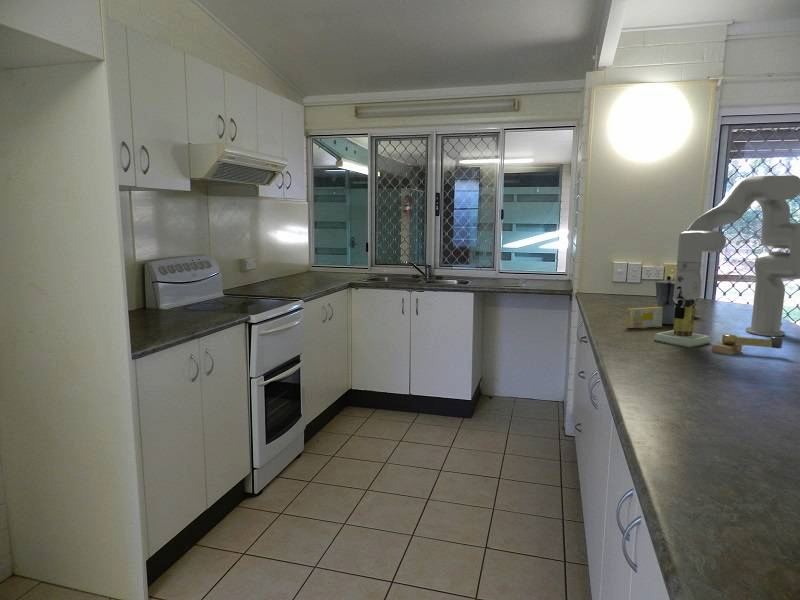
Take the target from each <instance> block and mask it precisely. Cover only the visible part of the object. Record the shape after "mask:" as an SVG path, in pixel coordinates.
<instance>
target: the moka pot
mask: <svg viewBox="0 0 800 600" xmlns="http://www.w3.org/2000/svg"><path fill="white" fill-rule="evenodd" d="M666 278H667V279H665V280H659V281H658V280H657V281H655V291H656V292H655V297H656V301H657V302H656V303H657V304H656V307H663V312H662V325H674V312H675V303H674V300H673V296H674V286H675V280H671V278H672V276H670V275H668V276H667V277H666Z"/></svg>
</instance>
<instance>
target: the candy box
mask: <svg viewBox="0 0 800 600" xmlns="http://www.w3.org/2000/svg"><path fill="white" fill-rule="evenodd" d="M626 312H627V313H626V317H627V318H626V329H627V328H641V329H648V328H647V327H656V328H662V327H663V324H662V312H663V307H657V306H653V307H638V308H637V307H635V308H627V310H626Z"/></svg>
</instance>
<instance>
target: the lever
mask: <svg viewBox="0 0 800 600" xmlns="http://www.w3.org/2000/svg"><path fill="white" fill-rule="evenodd" d="M783 340H784V339H783V337H782V336H770V339H767V338H756V337H744V336H743V337H742V336H737V335H736V334H730V333H729V334H728V333H724V334H722V339H721V342H722V343H725V344H739V345H742V346H753V347H763V348H773V349H782V347H783Z"/></svg>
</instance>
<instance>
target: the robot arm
mask: <svg viewBox="0 0 800 600" xmlns="http://www.w3.org/2000/svg"><path fill="white" fill-rule="evenodd" d="M799 196H800V177H799V176H797V175H795V174H793V175H791V174H790V175H788V174H787V175H760V176H748V177H743V178H740V179H739V180H738V181H737V182H735V184H734V185H733V186H732V187H731V189H729V192H728V193H727V194H726V195H725V197H724V198H723V199H722V201H721V202H720V203H719V204H718V205H717V206H715V207H713V208H711V209H709V210H708V211H706V212H705V213H703V214H702V215H699V217H697V218H696V219H694V221H692V223H691V224H690V225H689V226H688V228H686V230H685V231H683V232H680V233H679V237H678V245H677V257H676V258H677V259H676V270H675V271H676V274H675V278H674V279H675V280H674V282H675V286H674V296H673V300H674V303H675V314H674V318H678V319H684V313H685V308H684V305H685V301H686V300H693V299H694V301H695V306H696V305H697V301H698V299H699V298H700V297H701V290H702V277H701V276H702V275H701V268H702V259H703V258H702V256H703V253H710V254H711V253H712V254H713V253H718V252H720V251H722V250H723V249H724V248H725V246H726V245H727V238H726V236H725V235H724V234H723V233H722V232H719V231H715V230H714V229H717V228H720V227H722V226H725V225H730V224H733V223H735V222H737V221H740V220H741V218H742V217H743V215H744V214H745V213H746V212H747V211H748V209H749V208H750V207H751V205H752V204H753V203H755V202H757V203H758V205H759V206H760V208H761V211H762V212H761V213H762V220H761V232H760V239H761V244H762V245H763V246H764V247H766V248H770V249H771V248H772V249H786V250H789V252H785V251H765V252H762V253H760V254H758V255H757V256H756V258H755V260H754V272H755V273H754V274H755V284H754V286H755V287H754V294H753V295H754V298H753V305H752V312H751V313H752V314H751V315H752V316H751V325H750V327H746V328H745V332H746V333H749V334H753V335H757V336H758V335H759V336H764V337H765V336H767V337H772V336H775V337H783V336H782V335H784V336H785V335H786V332H785V331H784V330H781V329H782V328H781V327H782V325H783V323H782V320H783V319H782V318H783V312H784V311H783V309H784V301H785V292H786V287H785V285H784V281H783V280H782V279H790V280H791V279H792V280H800V222H791V220H790V219H791V207H790V205H789V203H788V202H787V201H789V200H794V199H795V198H798V197H799ZM679 297H683V299H682V298H679ZM681 301H682V303H681ZM694 313H695V308H694Z"/></svg>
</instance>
